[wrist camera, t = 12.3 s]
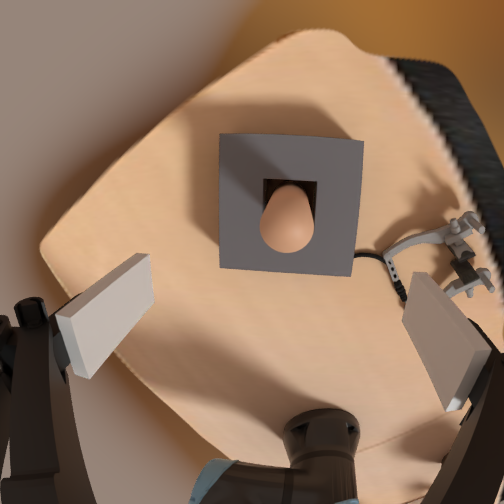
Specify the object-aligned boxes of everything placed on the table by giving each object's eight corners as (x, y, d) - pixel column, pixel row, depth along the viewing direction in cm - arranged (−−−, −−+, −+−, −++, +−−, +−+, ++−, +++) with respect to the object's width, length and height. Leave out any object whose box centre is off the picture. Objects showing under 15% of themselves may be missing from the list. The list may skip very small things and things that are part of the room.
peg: (306, 216, 39) (311, 254, 25) (272, 214, 40) (258, 251, 26) (307, 182, 38) (315, 201, 24) (273, 180, 38) (260, 198, 24)
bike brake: (468, 196, 34) (345, 250, 42) (488, 210, 28) (346, 271, 36) (485, 276, 37) (376, 321, 46) (502, 298, 31) (379, 349, 40)
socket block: (345, 262, 40) (350, 276, 36) (228, 254, 42) (219, 267, 38) (355, 142, 35) (363, 141, 31) (228, 135, 37) (219, 133, 32)
